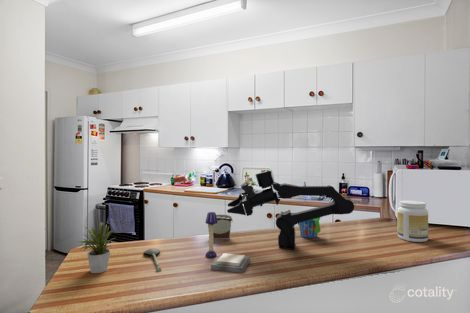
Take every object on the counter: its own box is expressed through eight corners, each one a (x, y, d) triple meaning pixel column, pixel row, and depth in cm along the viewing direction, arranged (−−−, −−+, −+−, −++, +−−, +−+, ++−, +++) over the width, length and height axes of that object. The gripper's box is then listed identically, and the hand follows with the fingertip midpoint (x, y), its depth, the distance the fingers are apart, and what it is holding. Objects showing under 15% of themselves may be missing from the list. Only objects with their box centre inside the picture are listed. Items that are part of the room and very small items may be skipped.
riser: (249, 261, 108) (249, 254, 108) (242, 272, 97) (242, 265, 97) (221, 258, 111) (221, 251, 111) (210, 269, 100) (210, 261, 100)
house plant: (76, 264, 104) (76, 219, 104) (118, 259, 110) (118, 215, 110) (71, 281, 91) (71, 228, 91) (119, 273, 97) (119, 224, 96)
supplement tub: (433, 239, 133) (433, 202, 133) (420, 244, 127) (420, 205, 126) (405, 233, 143) (405, 199, 143) (392, 237, 137) (392, 201, 136)
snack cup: (291, 232, 146) (291, 212, 146) (311, 231, 148) (311, 211, 148) (305, 242, 130) (305, 219, 130) (327, 240, 133) (327, 218, 133)
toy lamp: (205, 253, 116) (205, 211, 115) (217, 253, 116) (217, 211, 116) (205, 258, 111) (205, 214, 111) (217, 257, 111) (217, 213, 111)
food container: (234, 235, 141) (234, 214, 141) (232, 239, 135) (232, 217, 135) (208, 234, 142) (208, 214, 142) (206, 238, 136) (206, 216, 136)
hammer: (159, 252, 120) (143, 255, 118) (159, 244, 120) (142, 247, 118) (168, 270, 100) (148, 274, 97) (167, 260, 100) (147, 264, 98)
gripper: (255, 175, 134) (222, 186, 134) (258, 184, 115) (220, 195, 115) (262, 198, 135) (229, 208, 135) (267, 210, 116) (229, 222, 117)
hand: (227, 208), depth 126 cm, fingers open, 9 cm apart
